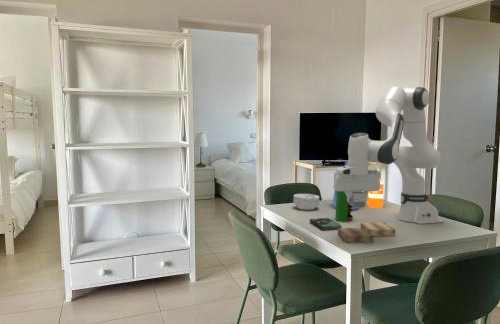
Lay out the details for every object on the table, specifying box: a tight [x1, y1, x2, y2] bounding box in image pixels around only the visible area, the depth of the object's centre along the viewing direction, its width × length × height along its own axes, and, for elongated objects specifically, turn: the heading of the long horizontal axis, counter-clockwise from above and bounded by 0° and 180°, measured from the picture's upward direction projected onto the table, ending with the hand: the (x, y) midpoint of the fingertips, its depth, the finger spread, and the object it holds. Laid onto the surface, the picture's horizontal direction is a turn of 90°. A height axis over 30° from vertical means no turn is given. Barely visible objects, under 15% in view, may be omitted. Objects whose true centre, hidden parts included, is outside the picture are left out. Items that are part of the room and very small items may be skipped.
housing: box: [348, 191, 366, 208], centre depth 167 cm, size 5×8×6 cm, turn 3°
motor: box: [334, 191, 354, 223], centre depth 200 cm, size 10×9×20 cm
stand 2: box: [360, 222, 396, 237], centre depth 179 cm, size 12×12×3 cm
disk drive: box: [309, 217, 343, 232], centre depth 188 cm, size 10×3×15 cm
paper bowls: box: [292, 193, 320, 211], centre depth 226 cm, size 15×15×8 cm
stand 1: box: [337, 227, 374, 244], centre depth 169 cm, size 12×12×3 cm
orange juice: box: [366, 179, 384, 209], centre depth 233 cm, size 8×9×20 cm
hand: (356, 201), depth 167 cm, fingers closed on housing, 5 cm apart
